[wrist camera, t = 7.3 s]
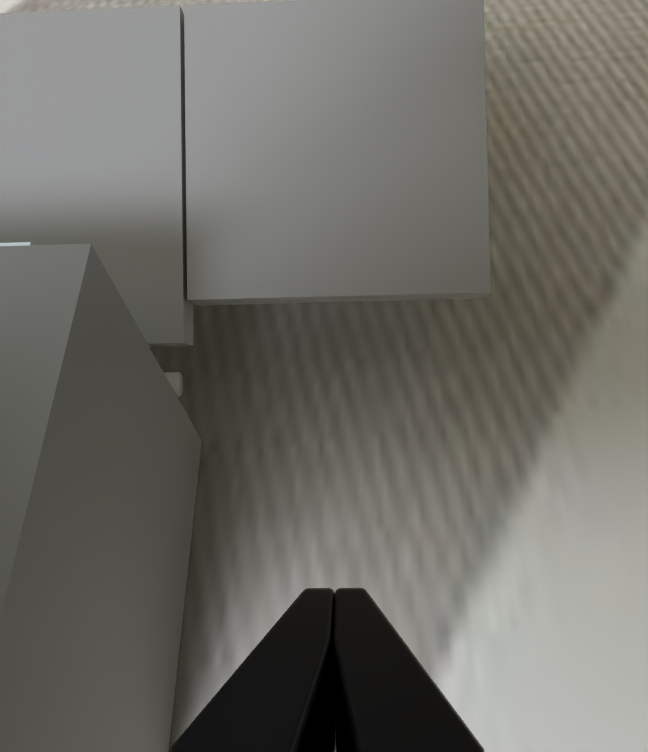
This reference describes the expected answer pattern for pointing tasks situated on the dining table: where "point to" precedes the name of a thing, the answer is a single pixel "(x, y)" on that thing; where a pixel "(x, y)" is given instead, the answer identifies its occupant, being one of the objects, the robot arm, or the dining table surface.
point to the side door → (252, 151)
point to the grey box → (87, 512)
